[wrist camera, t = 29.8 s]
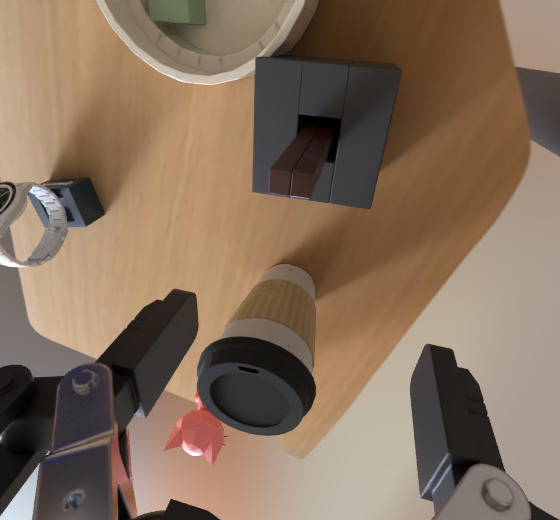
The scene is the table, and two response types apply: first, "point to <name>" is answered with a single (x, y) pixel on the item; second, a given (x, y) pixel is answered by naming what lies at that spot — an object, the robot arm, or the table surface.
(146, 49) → the bowl
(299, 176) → the chopsticks
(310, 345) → the coffee cup
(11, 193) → the watch
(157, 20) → the sage block
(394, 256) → the table surface
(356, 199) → the stand
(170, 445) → the cat figurine
